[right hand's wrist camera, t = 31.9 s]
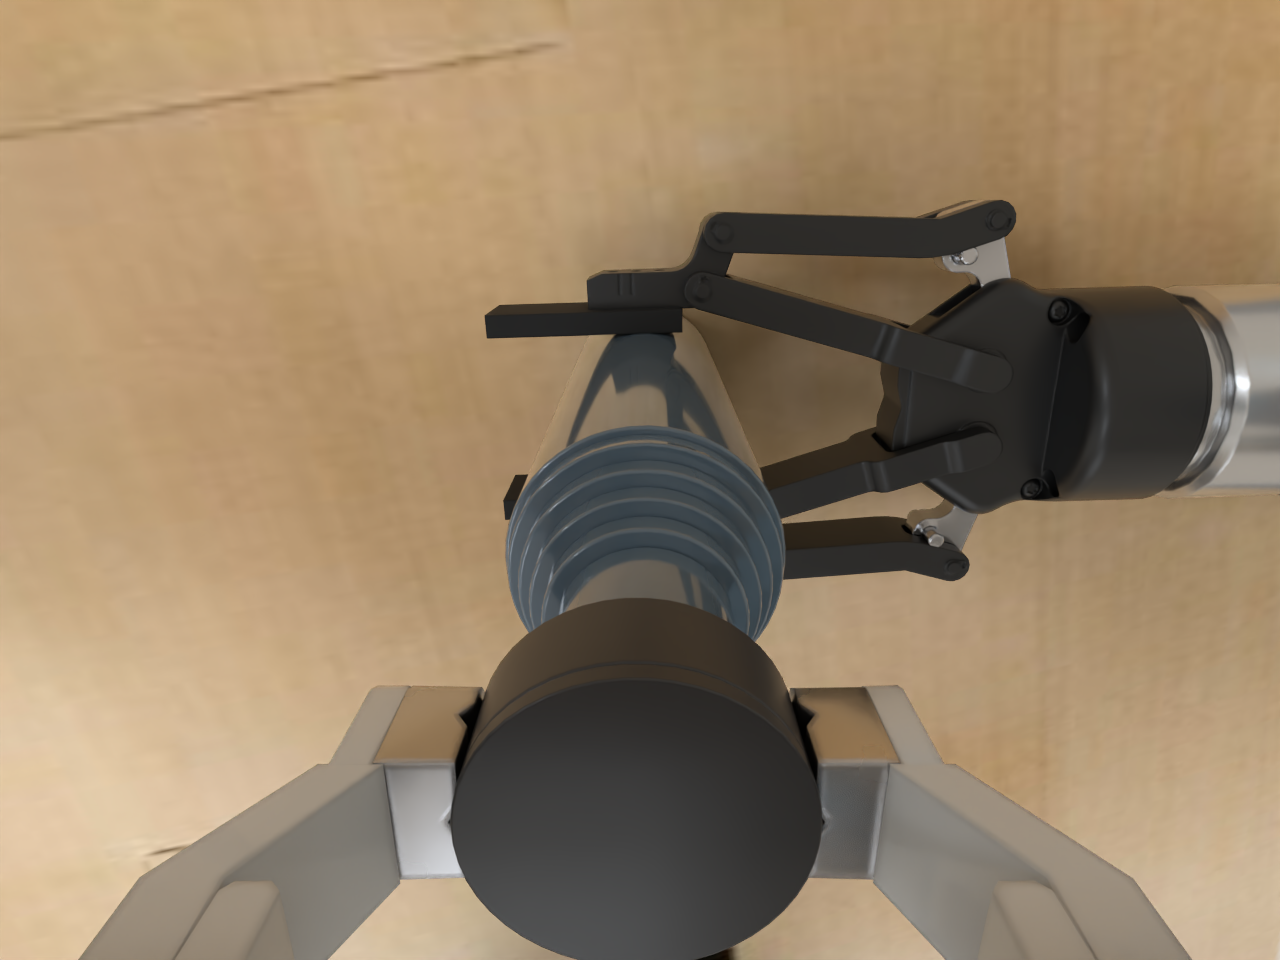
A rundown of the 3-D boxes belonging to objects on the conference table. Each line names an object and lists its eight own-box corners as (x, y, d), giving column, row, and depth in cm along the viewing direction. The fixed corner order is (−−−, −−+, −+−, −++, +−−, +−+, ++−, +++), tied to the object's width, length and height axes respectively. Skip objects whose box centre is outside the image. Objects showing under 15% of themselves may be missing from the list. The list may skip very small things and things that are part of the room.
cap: (501, 569, 10) (472, 648, 8) (831, 626, 10) (870, 714, 8) (463, 829, 11) (432, 942, 9) (750, 871, 11) (770, 989, 10)
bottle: (737, 386, 33) (925, 759, 11) (631, 460, 34) (607, 932, 12) (660, 276, 32) (695, 452, 9) (551, 358, 33) (355, 686, 11)
